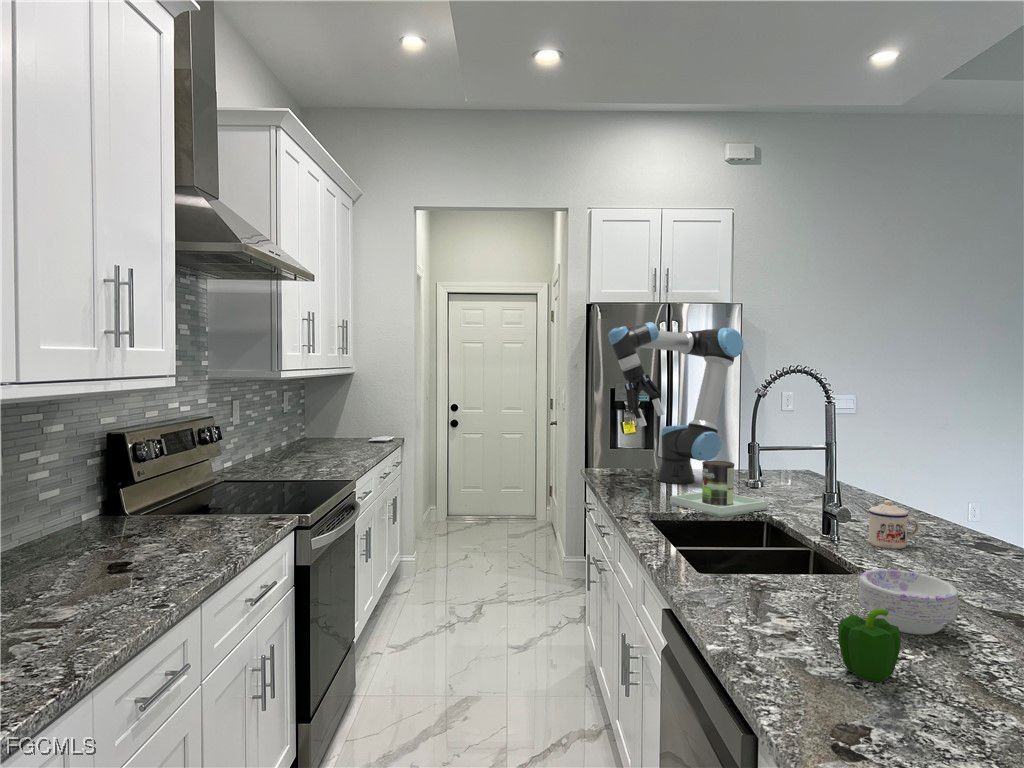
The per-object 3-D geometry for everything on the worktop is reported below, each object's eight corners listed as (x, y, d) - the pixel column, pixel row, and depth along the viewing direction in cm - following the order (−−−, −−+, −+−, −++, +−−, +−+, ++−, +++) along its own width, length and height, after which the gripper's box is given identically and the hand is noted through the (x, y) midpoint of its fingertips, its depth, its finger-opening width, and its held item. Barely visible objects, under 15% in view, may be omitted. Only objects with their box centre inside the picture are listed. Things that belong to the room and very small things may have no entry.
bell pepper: (840, 682, 95) (841, 614, 95) (834, 659, 103) (835, 596, 103) (906, 692, 92) (907, 622, 92) (895, 668, 100) (896, 603, 100)
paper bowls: (919, 648, 107) (920, 600, 107) (840, 616, 121) (840, 574, 121) (977, 634, 113) (978, 588, 113) (895, 605, 127) (896, 564, 127)
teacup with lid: (874, 548, 168) (875, 503, 168) (863, 539, 177) (863, 496, 177) (925, 551, 166) (926, 505, 166) (911, 542, 175) (912, 498, 174)
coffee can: (713, 508, 211) (714, 465, 211) (695, 502, 221) (696, 461, 221) (740, 506, 214) (741, 464, 214) (721, 500, 224) (722, 460, 224)
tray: (715, 498, 233) (715, 490, 233) (767, 510, 214) (767, 501, 214) (670, 504, 222) (670, 496, 222) (720, 517, 203) (720, 508, 203)
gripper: (640, 362, 253) (660, 413, 253) (605, 378, 235) (627, 433, 235) (656, 356, 248) (676, 408, 248) (621, 373, 230) (643, 428, 230)
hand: (652, 420), depth 242 cm, fingers open, 13 cm apart
